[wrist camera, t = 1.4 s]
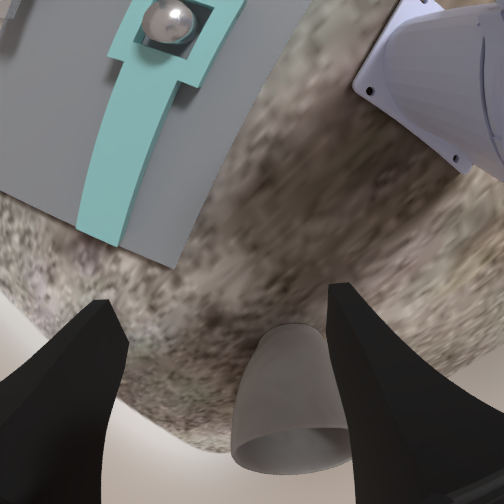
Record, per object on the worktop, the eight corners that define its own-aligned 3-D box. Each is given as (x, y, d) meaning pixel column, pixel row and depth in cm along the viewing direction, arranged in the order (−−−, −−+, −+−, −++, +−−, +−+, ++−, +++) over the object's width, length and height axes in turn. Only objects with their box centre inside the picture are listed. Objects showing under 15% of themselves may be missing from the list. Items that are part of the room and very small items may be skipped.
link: (157, -26, 10) (149, -32, 9) (247, 3, 11) (246, -3, 10) (70, 213, 17) (61, 222, 16) (138, 243, 18) (132, 254, 17)
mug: (216, 326, 24) (203, 442, 15) (330, 290, 22) (362, 410, 14) (272, 401, 29) (275, 489, 21) (358, 378, 28) (378, 467, 19)
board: (331, -32, 11) (336, -38, 10) (178, 258, 20) (174, 269, 19) (73, -90, 7) (65, -96, 6) (-17, 170, 16) (-27, 176, 15)
